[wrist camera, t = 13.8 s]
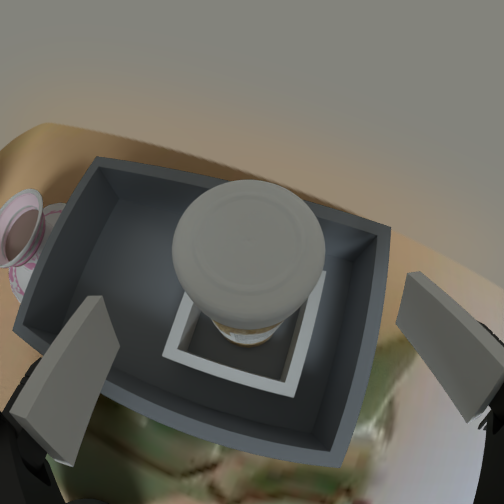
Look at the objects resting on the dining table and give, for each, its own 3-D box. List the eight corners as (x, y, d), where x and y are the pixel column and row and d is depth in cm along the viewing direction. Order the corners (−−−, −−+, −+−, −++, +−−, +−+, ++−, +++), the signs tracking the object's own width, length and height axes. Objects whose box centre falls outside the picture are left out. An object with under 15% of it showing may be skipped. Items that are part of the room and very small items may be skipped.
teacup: (78, 187, 26) (53, 152, 21) (103, 276, 22) (66, 248, 17) (8, 238, 24) (-22, 214, 18) (20, 328, 20) (-21, 314, 14)
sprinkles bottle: (212, 293, 21) (165, 185, 8) (272, 284, 21) (305, 166, 9) (222, 353, 19) (176, 333, 7) (284, 342, 19) (348, 301, 7)
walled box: (55, 341, 20) (12, 330, 14) (120, 194, 26) (96, 156, 20) (316, 443, 17) (340, 467, 12) (361, 259, 23) (391, 227, 18)
